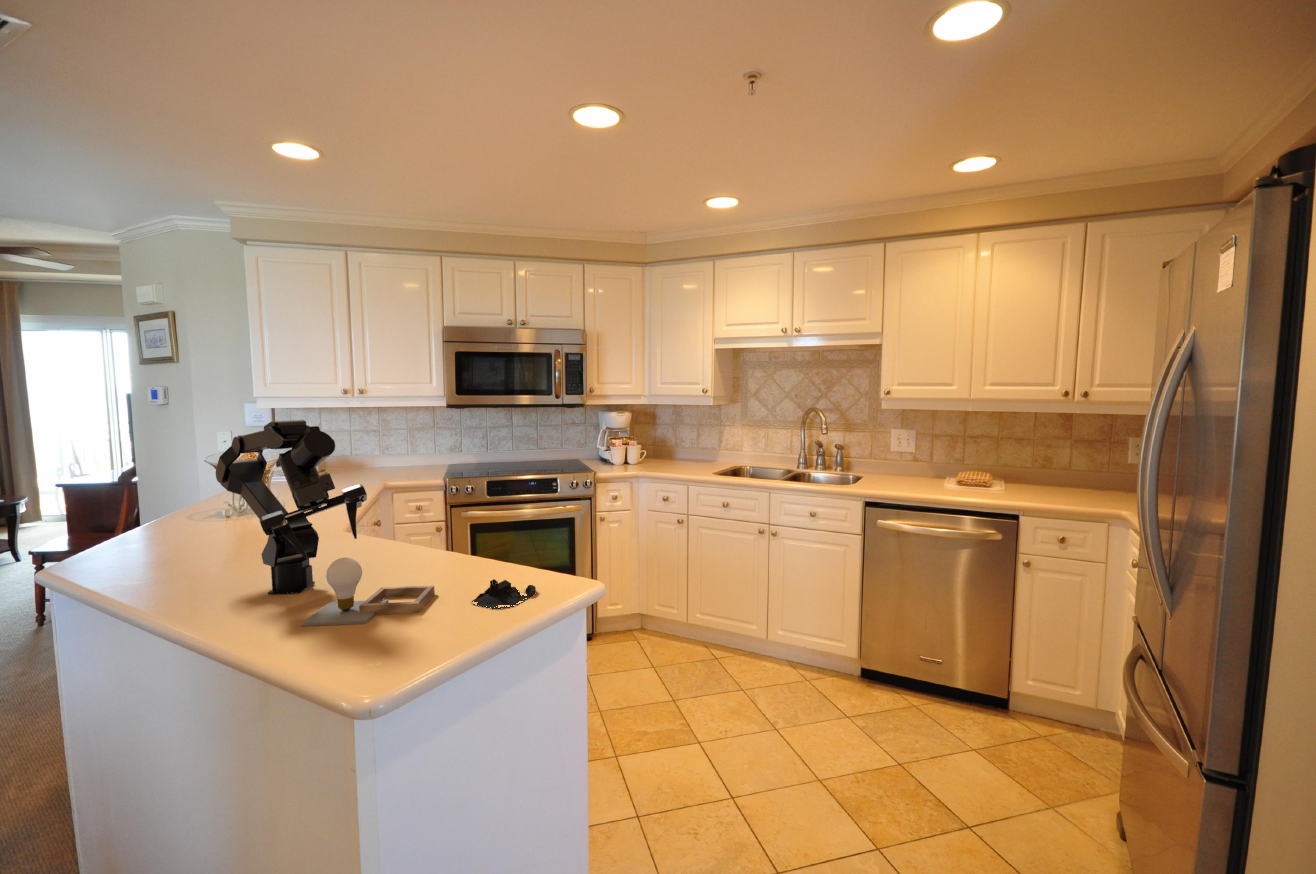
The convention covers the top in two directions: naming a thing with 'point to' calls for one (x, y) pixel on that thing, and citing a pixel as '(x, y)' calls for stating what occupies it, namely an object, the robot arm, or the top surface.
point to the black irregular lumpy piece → (502, 595)
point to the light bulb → (344, 581)
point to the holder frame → (398, 607)
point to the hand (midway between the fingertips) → (331, 548)
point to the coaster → (339, 615)
